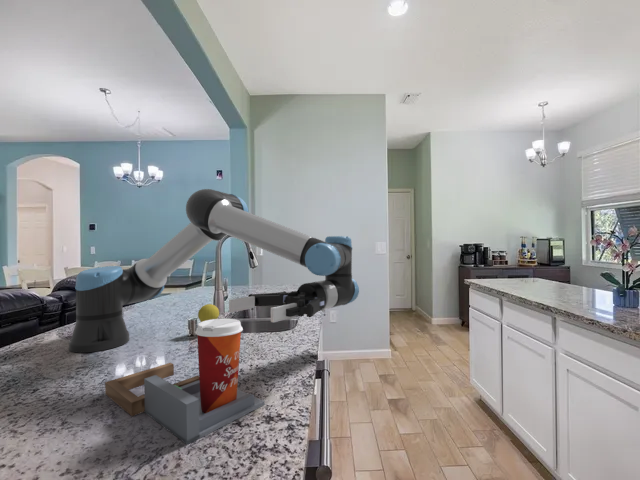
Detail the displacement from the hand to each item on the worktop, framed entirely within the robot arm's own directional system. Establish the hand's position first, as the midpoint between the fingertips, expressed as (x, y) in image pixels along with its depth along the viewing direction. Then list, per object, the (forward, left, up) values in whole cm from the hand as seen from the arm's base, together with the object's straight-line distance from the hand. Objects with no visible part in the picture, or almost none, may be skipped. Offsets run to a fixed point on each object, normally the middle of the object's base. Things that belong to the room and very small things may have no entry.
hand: (249, 310), depth 66 cm
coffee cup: (-3, -9, -16) cm, 18 cm away
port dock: (-5, -8, -16) cm, 19 cm away
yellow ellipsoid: (-29, +37, -16) cm, 50 cm away
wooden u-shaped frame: (-19, -3, -16) cm, 25 cm away
